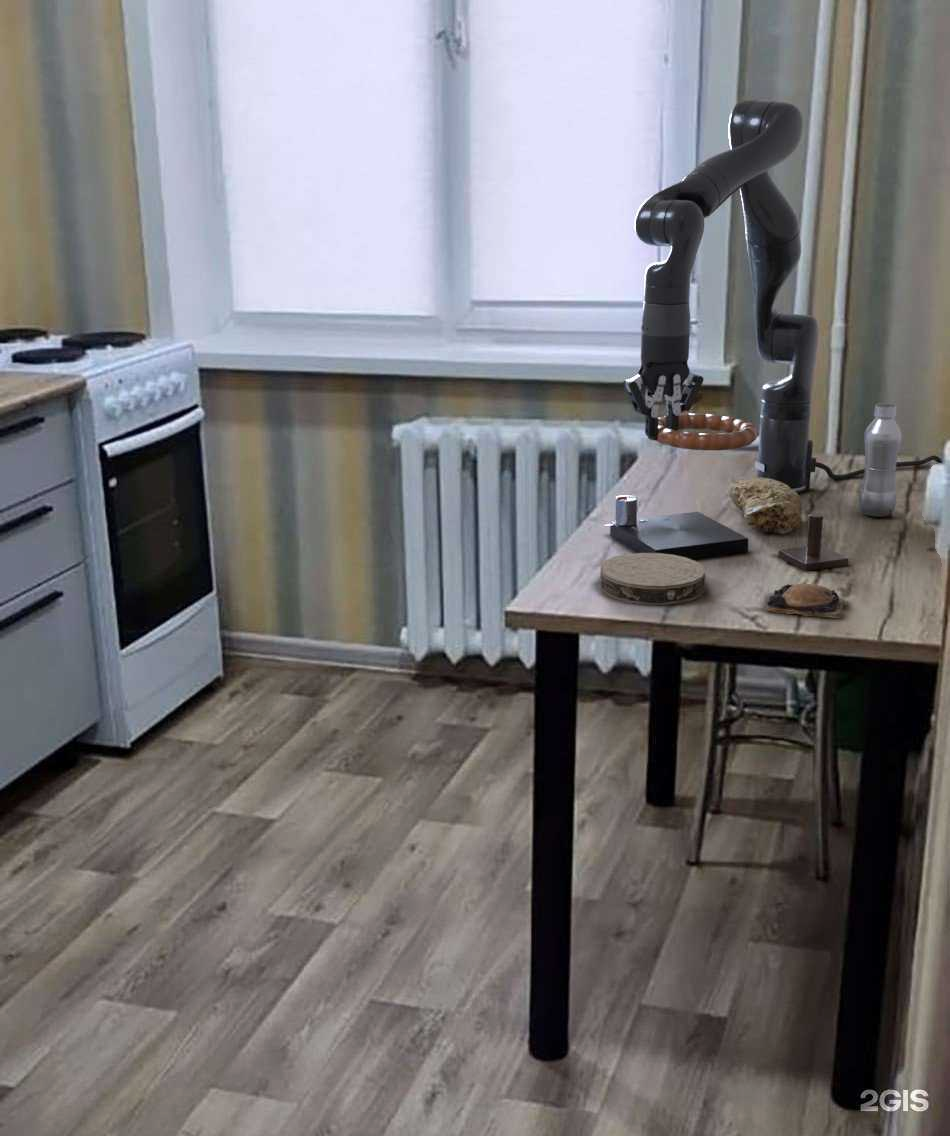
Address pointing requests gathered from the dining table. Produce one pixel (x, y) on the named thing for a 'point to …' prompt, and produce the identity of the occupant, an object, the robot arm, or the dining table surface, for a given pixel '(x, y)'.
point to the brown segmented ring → (735, 437)
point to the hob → (681, 536)
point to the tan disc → (652, 578)
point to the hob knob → (626, 510)
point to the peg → (813, 550)
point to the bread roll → (806, 601)
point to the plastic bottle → (880, 462)
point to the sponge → (767, 504)
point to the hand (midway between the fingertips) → (661, 438)
